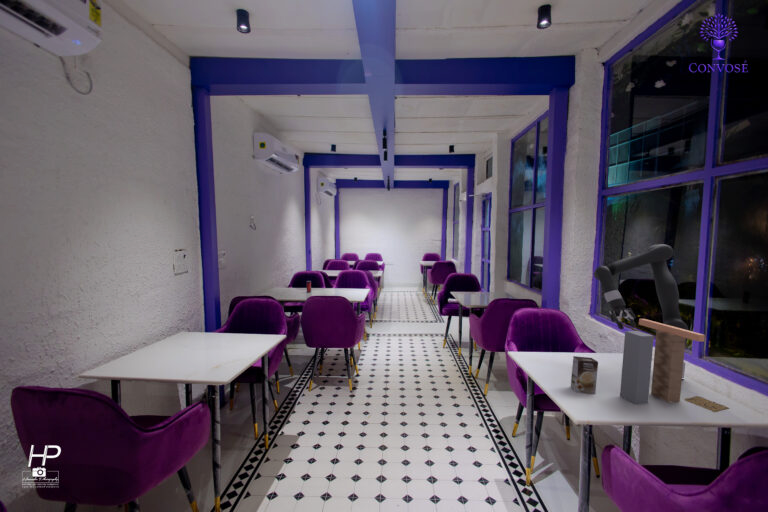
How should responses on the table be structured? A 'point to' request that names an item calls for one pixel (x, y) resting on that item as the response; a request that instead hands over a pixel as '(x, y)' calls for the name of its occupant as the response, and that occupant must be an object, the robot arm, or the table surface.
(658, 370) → the walnut stand
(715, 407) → the sandy brown tile
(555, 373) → the table surface
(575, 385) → the coffee box
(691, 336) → the bar
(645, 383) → the grey stand
